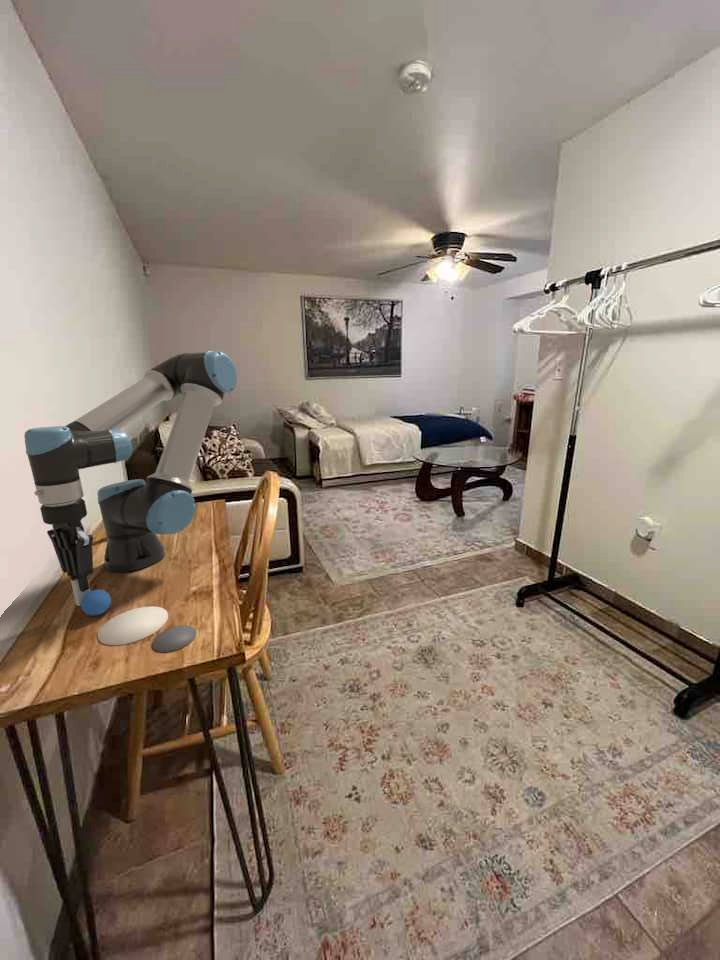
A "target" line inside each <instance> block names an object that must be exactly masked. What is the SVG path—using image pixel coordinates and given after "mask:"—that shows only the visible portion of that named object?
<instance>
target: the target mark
mask: <svg viewBox="0 0 720 960" xmlns="http://www.w3.org/2000/svg"><path fill="white" fill-rule="evenodd" d="M168 619H169V611H168V610H166V609H165V608H163V607H160V606H141V607H137V608H133V609H130V610H127V611H125V612H122V613H120V614H118V615H116V616H115V617H112V618H111V619H109V620H108V621H107V622H105V623H104V624H103V625H101V627H100V629H99V630H98V632H97V640H98V641H99V642H100V643H101V644H103V645H108V646H123V645H127V644H132V643H135V642H139V641H141V640H144V639H146V638H148V637H151V635H153V634H155V633H156V632H158V631H159V630H161V629H162V628H163V627H164V626H165V625H166V623H167V622H168Z"/></svg>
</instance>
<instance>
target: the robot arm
mask: <svg viewBox="0 0 720 960" xmlns="http://www.w3.org/2000/svg"><path fill="white" fill-rule="evenodd" d="M237 384H238V372H237V369H236V365H235V364H234V361H233V360H232V359H231V358H230V356H228V355H227V354H226V353H225V352H222V351H216V350H215V351H213V350H208V351H204V352H189V353H188V352H187V353H180V354H176V355H174V356H171V357H169V358H168V359H166V360H164V361H162V362H161V363H159V364H157V365H155V366H154V367H152V368H151V369H149V370H147V371H146V372H145V373H144V377H143V378H141V379H140V380H139V381H137V382H136V383H134V384H132V385H130V386H128V387H127V388H126V389H124V390H122V391H121V392H119V393H118V394H115V396H113V397H111V398H109V399H108V400H106V401H105V402H102V403H101V404H100V405H98V406H96V407H95V408H93V409H92V410H90V411H88V412H86V413H85V414H83V415H82V416H80V417H78V418H77V419H75V420H74V421H72V422H70V423H68V424H66V425H65V426H64V425H61V426H59V425H58V426H42V427H41V426H40V427H33V428H29V429H27V430H26V431H25V432H24V435H23V436H24V444H25V445H24V446H25V454H26V455H27V458H28V461H29V466H30V470H31V474H32V478H33V482H34V487H35V491H34V495H35V496H37V499H38V502H39V504H41V506H40V507H39V509H40V513H41V517H42V521H43V523H44V524H46V525H49V526H52V529H49V530H47V531H46V532H47V536H48V537H49V539H50V540H51V543H52V545H53V546H52V547H53V549H54V551H55V554H56V556H57V561H58V563H59V565H60V568H61V571H62V572H63V573H66V575H67V577H69V579H70V584H71V588H72V592H73V595H74V601H75V605H76V606H79V607H81V602H82V599H83V597H84V596H85V595H86V594H87V593H89V592H91V591H92V590H91V586H90V582H89V578H88V577H89V575H93V574H94V562H93V561H94V559H93V542H94V537H93V535H92V534H89V535H87V534H86V533H85V528H84V525H83V524H82V519H84V518H86V516H87V515H88V511H87V507H86V506H87V505H86V501H85V499H83V497H84V490H83V486H82V481H81V477H80V470H83V469H87V468H94V467H98V466H103V465H109V464H117V463H118V462H123V461H126V460H128V459H129V458H130V456H131V455H132V449H133V447H132V442H131V439H130V437H129V436H128V434H127V433H126V432H125V431H123V430H122V429H123V428H125V427H126V426H127V425H129V424H130V423H131V422H133V421H135V420H136V419H137V418H139V417H141V416H142V415H143V414H145V413H146V412H148V411H149V410H151V409H152V408H153V407H155V406H157V405H158V404H159V403H161V402H163V401H167V402H168V401H170V400H172V399H173V398H175V397H176V396H180V395H183V396H182V399H181V402H180V405H179V407H178V411H177V412H176V416H175V419H174V421H173V423H172V426H171V429H170V431H169V435H168V438H167V441H166V443H165V446H164V449H163V451H162V453H161V456H160V459H159V462H158V465H157V467H156V470H155V472H154V473H153V474H150V475H148V476H147V477H146V480H144V479H142V478H138V479H131V480H125V481H121V482H116V483H111V484H108V485H105V486H103V487H101V488H99V489H98V491H97V503H98V505H99V509H100V514H101V518H102V522H103V526H104V530H105V535H106V547H105V552H104V553H105V554H104V558H103V562H104V567H105V569H106V570H107V571H109V572H112V573H126V572H132V571H138V570H141V569H144V568H147V567H150V566H152V565H155V564H157V563H159V562H160V561H161V560H163V559H164V557H165V556H164V555H166V551H165V546H164V544H163V542H162V540H161V539H160V537H159V536H158V535H174V534H178V533H180V532H181V531H184V530H185V529H187V527H188V526H189V525H190V524H191V523H192V521H193V519H194V517H195V514H196V508H197V507H196V504H195V498H194V497H193V495H192V492H193V489H194V488H192V486H191V484H190V480H191V477H192V474H193V472H194V468H195V465H196V462H197V461H198V460H197V459H198V457H199V453H200V450H201V447H202V444H203V441H204V439H205V436H206V432H207V429H208V426H209V424H210V421H211V418H212V415H213V411H214V408H215V407H217V406H219V405H221V404H222V403H223V399H224V396H225V394H227V393H230V392H233V391H234V390H235V389H236V387H237Z"/></svg>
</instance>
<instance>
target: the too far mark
mask: <svg viewBox="0 0 720 960" xmlns="http://www.w3.org/2000/svg"><path fill="white" fill-rule="evenodd" d="M196 637H197V630H196V628H195V627H193V626H191V625H185V624H184V625H183V624H182V625H175V626H172V627H168V628H166V629H165V630H163V631H162V632H160V633H158V634H157V635H156V636H155V638H153V640H152V642H151V648H152V649H153V650H154V651H155V652H158V653H172V652H175V651H178V650H180V649H183V648H184V647H187V646H188V645H189V644H191V643H192V642H193V641H194V640H195V639H196Z"/></svg>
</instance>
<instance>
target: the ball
mask: <svg viewBox="0 0 720 960" xmlns="http://www.w3.org/2000/svg"><path fill="white" fill-rule="evenodd" d="M111 604H112V597H111V595H110V593H108V592H107V591H106V590H103V589H94V590H91V592H89V593H87V594H86V595H85V596H84V597H83V599H82V602H81V606H80V607H81V610H82V612H84V614H86V615H88V616H92V617H93V616H100V615H102V614H104V613H106V612H107V611H108V609H109V608H110V606H111Z"/></svg>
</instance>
